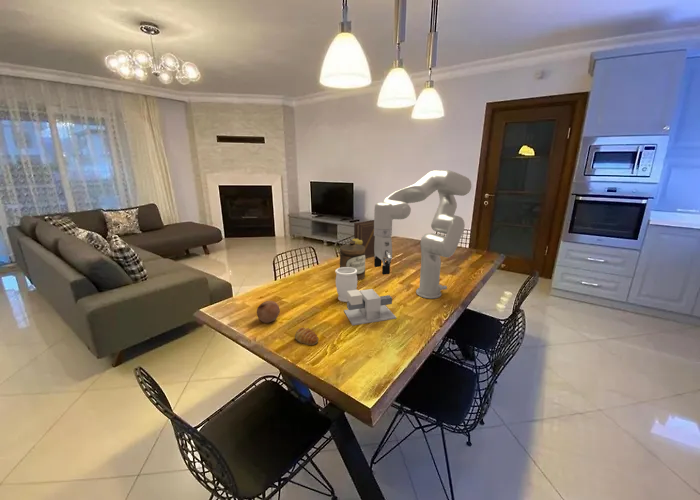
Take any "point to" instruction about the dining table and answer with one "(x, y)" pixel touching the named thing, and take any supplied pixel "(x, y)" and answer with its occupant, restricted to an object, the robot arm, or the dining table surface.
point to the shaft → (384, 301)
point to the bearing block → (369, 310)
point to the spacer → (354, 297)
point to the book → (365, 236)
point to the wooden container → (353, 258)
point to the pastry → (306, 336)
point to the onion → (268, 311)
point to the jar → (345, 281)
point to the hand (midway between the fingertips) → (381, 270)
